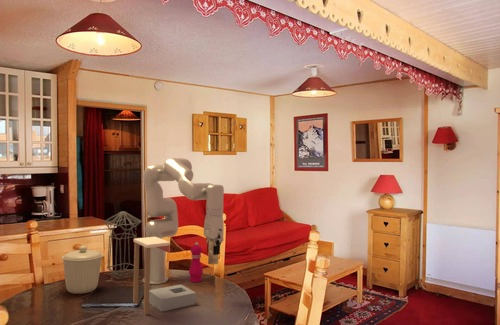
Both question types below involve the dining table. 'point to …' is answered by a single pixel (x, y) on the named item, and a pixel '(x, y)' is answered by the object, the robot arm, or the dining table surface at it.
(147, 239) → the small side table
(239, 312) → the dining table surface
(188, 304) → the socket block
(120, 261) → the geometric lantern
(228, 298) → the dining table surface
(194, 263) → the pepper mill
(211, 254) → the peg
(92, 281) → the canister
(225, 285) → the dining table surface
